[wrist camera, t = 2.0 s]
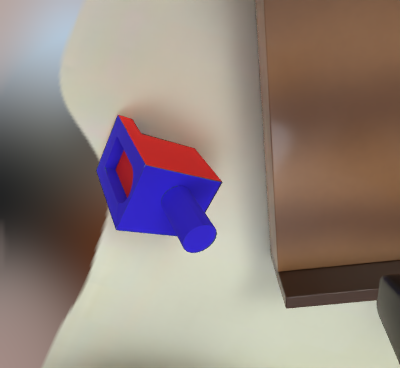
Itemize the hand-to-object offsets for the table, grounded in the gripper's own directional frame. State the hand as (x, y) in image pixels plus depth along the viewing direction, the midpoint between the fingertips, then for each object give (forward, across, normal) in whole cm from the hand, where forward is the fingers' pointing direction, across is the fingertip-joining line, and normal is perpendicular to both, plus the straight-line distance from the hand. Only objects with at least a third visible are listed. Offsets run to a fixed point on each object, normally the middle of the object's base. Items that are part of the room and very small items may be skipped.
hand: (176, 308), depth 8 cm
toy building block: (+13, +2, +1) cm, 13 cm away
